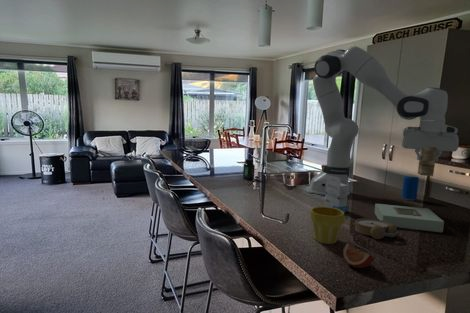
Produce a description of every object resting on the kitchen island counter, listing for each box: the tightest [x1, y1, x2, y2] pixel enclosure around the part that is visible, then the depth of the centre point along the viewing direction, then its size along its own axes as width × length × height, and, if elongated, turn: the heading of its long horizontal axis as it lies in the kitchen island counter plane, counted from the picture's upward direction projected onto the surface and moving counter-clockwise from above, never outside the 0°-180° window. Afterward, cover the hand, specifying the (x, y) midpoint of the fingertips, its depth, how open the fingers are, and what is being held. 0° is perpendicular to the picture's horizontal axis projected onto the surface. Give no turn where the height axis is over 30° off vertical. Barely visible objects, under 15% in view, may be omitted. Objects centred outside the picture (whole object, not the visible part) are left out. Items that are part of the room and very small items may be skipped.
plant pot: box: [310, 206, 345, 245], centre depth 100 cm, size 10×10×10 cm
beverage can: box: [401, 174, 420, 202], centre depth 154 cm, size 6×6×12 cm
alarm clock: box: [352, 218, 399, 240], centre depth 107 cm, size 11×5×15 cm
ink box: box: [324, 175, 349, 213], centre depth 132 cm, size 8×5×15 cm, turn 26°
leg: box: [417, 147, 437, 177], centre depth 131 cm, size 5×5×12 cm
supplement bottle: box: [242, 158, 256, 181], centre depth 189 cm, size 7×7×12 cm
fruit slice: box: [342, 242, 375, 269], centre depth 84 cm, size 8×7×5 cm
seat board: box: [374, 203, 445, 233], centre depth 120 cm, size 20×16×4 cm
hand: (427, 160), depth 131 cm, fingers closed on leg, 4 cm apart
